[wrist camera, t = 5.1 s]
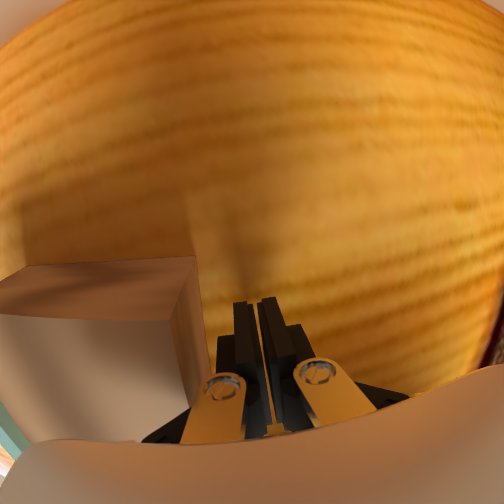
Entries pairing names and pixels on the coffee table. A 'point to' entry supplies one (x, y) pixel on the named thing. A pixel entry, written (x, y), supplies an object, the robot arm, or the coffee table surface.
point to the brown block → (101, 347)
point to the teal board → (11, 434)
